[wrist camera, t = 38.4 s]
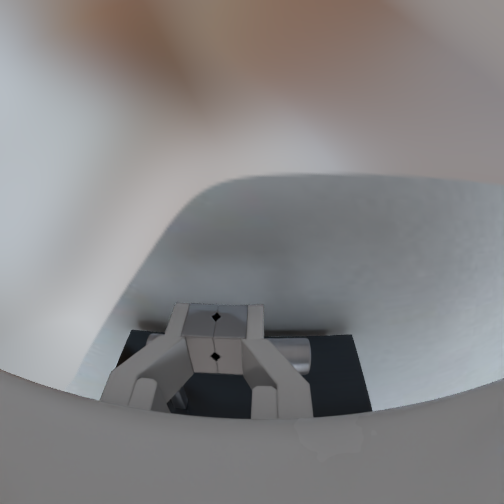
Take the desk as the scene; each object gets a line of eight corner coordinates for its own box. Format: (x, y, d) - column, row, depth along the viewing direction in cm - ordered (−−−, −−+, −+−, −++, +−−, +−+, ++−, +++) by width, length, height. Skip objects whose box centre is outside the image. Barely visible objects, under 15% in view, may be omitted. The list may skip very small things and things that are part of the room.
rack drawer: (110, 265, 15) (39, 381, 8) (369, 268, 14) (427, 399, 8) (173, 426, 24) (160, 498, 17) (317, 430, 23) (324, 504, 17)
